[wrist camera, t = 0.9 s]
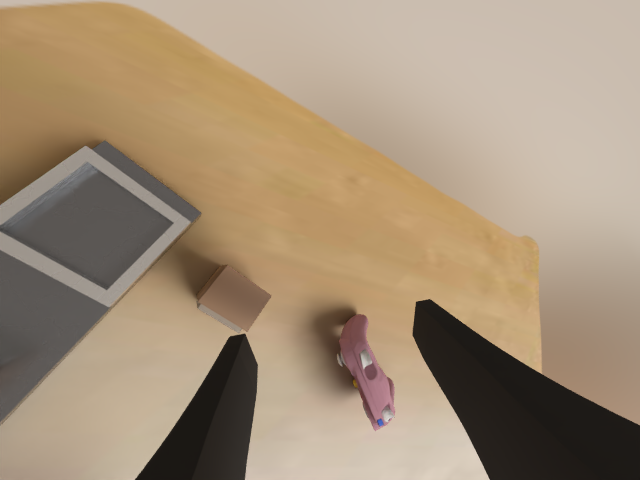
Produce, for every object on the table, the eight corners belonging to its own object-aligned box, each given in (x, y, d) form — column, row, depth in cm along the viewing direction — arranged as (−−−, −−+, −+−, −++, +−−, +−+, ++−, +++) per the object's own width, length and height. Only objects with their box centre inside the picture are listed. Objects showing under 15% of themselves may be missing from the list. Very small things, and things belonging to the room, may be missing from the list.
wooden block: (232, 322, 21) (243, 337, 16) (193, 298, 20) (193, 307, 15) (256, 290, 22) (271, 295, 18) (220, 265, 21) (227, 265, 16)
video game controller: (325, 323, 27) (333, 357, 20) (361, 307, 27) (382, 336, 20) (356, 396, 28) (374, 453, 21) (391, 380, 28) (420, 432, 21)
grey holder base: (-52, 480, 13) (-229, 632, 7) (-271, 427, 10) (-777, 600, 5) (200, 215, 20) (203, 196, 15) (109, 147, 18) (74, 95, 12)
